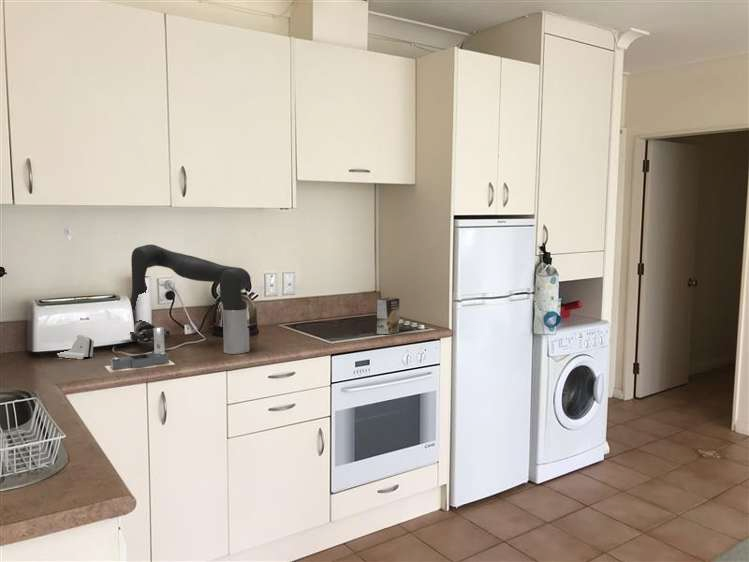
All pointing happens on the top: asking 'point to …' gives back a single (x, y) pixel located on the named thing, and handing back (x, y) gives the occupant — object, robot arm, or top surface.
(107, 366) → the board
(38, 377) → the top surface
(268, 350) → the top surface
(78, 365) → the top surface
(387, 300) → the coffee box
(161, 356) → the grey notched block
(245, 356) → the top surface
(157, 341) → the link pin
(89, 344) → the hinge
